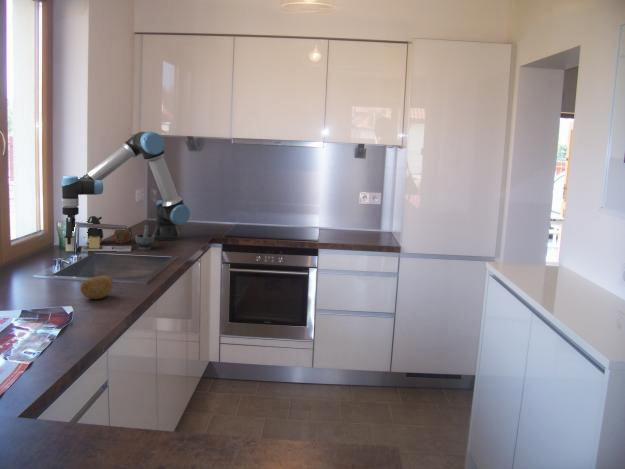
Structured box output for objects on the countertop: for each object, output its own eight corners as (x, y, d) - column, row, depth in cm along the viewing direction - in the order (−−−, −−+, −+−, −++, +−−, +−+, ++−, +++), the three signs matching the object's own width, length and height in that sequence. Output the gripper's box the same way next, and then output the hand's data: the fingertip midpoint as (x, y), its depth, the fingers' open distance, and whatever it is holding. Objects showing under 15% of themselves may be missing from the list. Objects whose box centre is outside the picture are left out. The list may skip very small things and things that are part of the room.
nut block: (77, 249, 287) (77, 236, 286) (76, 251, 282) (75, 237, 281) (66, 249, 286) (66, 236, 284) (65, 251, 281) (65, 237, 280)
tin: (118, 244, 304) (118, 229, 303) (113, 244, 305) (112, 229, 303) (132, 240, 319) (132, 226, 317) (127, 240, 319) (127, 225, 318)
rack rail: (131, 248, 296) (131, 245, 296) (130, 251, 288) (130, 249, 288) (83, 248, 290) (82, 246, 289) (81, 251, 281) (81, 249, 281)
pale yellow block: (100, 249, 290) (99, 235, 289) (99, 251, 285) (99, 237, 284) (89, 249, 289) (89, 236, 288) (88, 251, 284) (88, 237, 283)
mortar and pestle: (151, 250, 292) (151, 228, 290) (133, 250, 291) (133, 227, 289) (156, 246, 303) (156, 225, 301) (138, 246, 302) (138, 224, 300)
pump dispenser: (107, 243, 306) (107, 216, 303) (90, 245, 297) (90, 217, 295) (96, 241, 312) (96, 214, 309) (79, 243, 303) (79, 215, 301)
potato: (120, 294, 208) (120, 273, 207) (98, 304, 195) (98, 282, 194) (97, 291, 210) (97, 271, 209) (74, 301, 197) (73, 279, 196)
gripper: (65, 203, 291) (66, 243, 294) (58, 209, 268) (59, 252, 271) (81, 204, 293) (81, 243, 297) (75, 209, 270) (76, 252, 273)
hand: (71, 248), depth 284 cm, fingers open, 13 cm apart
